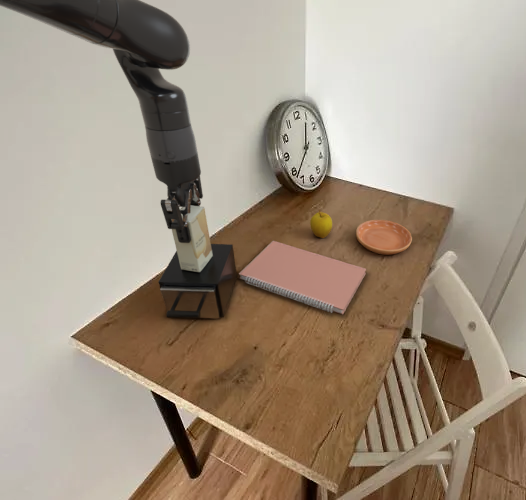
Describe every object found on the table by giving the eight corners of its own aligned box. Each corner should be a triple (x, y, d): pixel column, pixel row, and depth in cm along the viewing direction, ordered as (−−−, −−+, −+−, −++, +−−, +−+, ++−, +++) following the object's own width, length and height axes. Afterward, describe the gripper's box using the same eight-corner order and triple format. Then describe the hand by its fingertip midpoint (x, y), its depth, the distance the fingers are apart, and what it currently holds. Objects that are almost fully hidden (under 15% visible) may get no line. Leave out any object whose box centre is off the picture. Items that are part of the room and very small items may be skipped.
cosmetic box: (200, 273, 73) (189, 222, 65) (180, 270, 73) (167, 219, 66) (214, 254, 78) (205, 206, 71) (195, 252, 78) (184, 203, 71)
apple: (315, 227, 107) (315, 204, 102) (334, 233, 105) (336, 209, 100) (306, 238, 102) (306, 214, 97) (326, 244, 100) (328, 220, 96)
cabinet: (223, 317, 76) (217, 283, 70) (168, 315, 75) (158, 281, 70) (237, 276, 87) (232, 244, 81) (189, 274, 86) (181, 242, 81)
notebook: (236, 281, 85) (235, 275, 84) (273, 245, 98) (272, 239, 97) (341, 318, 78) (341, 312, 77) (365, 274, 91) (366, 268, 89)
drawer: (213, 334, 71) (207, 306, 66) (160, 333, 70) (150, 305, 66) (232, 279, 85) (228, 253, 80) (187, 278, 84) (181, 251, 79)
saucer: (415, 235, 107) (416, 227, 105) (403, 265, 95) (405, 256, 93) (364, 222, 111) (365, 214, 109) (347, 249, 99) (348, 240, 97)
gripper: (167, 136, 67) (184, 212, 76) (132, 166, 55) (157, 252, 65) (207, 138, 67) (219, 214, 77) (182, 168, 55) (199, 253, 65)
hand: (191, 231), depth 71 cm, fingers closed on cosmetic box, 6 cm apart
